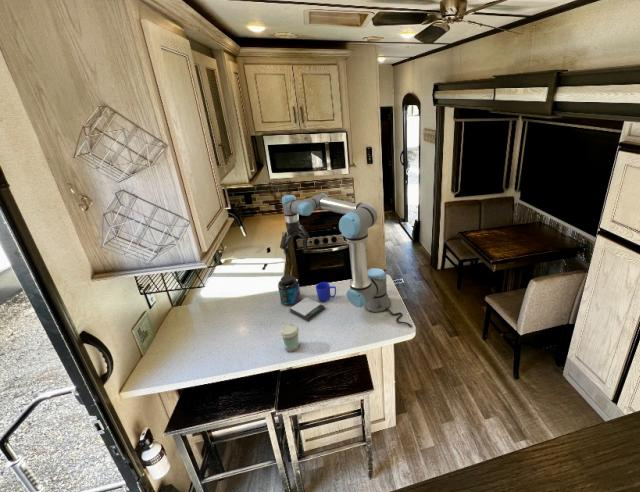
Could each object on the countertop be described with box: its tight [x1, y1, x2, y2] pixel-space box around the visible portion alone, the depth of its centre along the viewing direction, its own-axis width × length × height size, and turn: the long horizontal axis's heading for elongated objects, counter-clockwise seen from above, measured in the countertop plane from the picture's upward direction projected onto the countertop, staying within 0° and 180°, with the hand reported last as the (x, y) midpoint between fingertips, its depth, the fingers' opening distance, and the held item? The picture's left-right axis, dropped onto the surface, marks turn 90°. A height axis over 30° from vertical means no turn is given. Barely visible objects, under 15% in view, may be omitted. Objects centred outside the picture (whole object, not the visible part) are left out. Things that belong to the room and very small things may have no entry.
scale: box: [289, 297, 326, 322], centre depth 192 cm, size 15×13×3 cm
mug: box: [315, 281, 337, 303], centre depth 200 cm, size 8×12×10 cm
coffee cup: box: [280, 323, 300, 353], centre depth 164 cm, size 9×8×12 cm
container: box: [277, 274, 302, 307], centre depth 198 cm, size 12×12×17 cm
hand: (296, 253), depth 199 cm, fingers open, 13 cm apart
